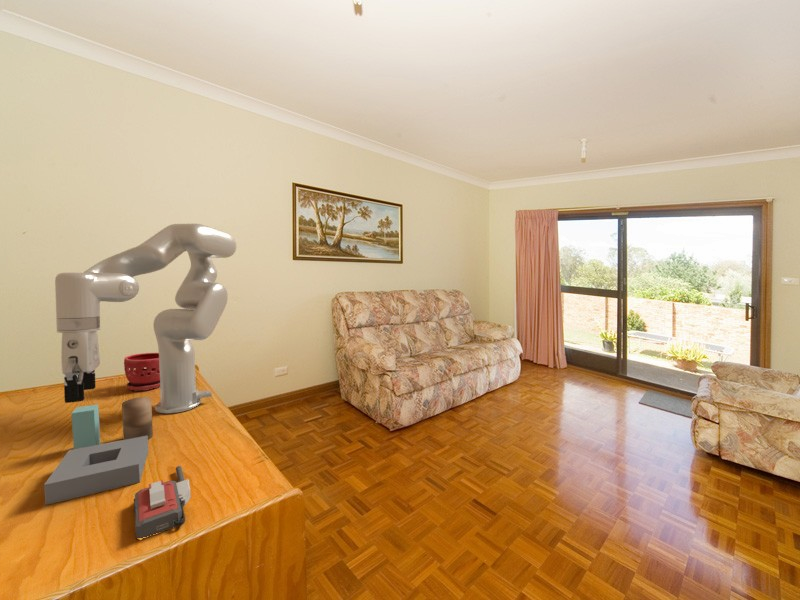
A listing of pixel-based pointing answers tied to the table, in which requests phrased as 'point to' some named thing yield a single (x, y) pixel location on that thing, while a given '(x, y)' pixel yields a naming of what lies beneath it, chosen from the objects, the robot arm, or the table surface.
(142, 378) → the plant pot
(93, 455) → the socket block
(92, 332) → the robot arm
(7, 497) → the table surface
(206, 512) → the table surface
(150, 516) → the walkie-talkie
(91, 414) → the square peg
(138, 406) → the round plug
